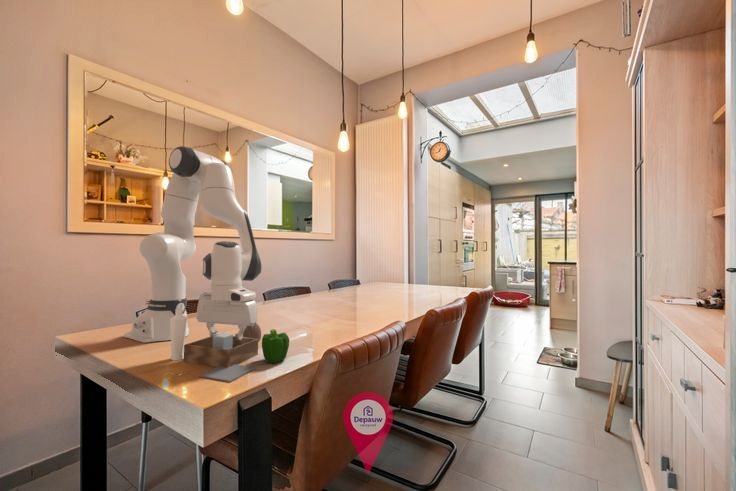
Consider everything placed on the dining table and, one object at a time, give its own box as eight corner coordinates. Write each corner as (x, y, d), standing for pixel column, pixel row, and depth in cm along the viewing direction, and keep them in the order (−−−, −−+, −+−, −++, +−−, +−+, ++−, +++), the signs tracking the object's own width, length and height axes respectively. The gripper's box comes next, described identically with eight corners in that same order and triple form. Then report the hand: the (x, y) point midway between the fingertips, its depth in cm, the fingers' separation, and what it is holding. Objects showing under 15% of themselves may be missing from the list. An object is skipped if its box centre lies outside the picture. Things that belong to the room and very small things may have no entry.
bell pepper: (276, 354, 105) (277, 323, 105) (294, 359, 101) (295, 327, 101) (254, 361, 98) (255, 328, 98) (272, 367, 94) (273, 332, 94)
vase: (264, 342, 118) (264, 318, 118) (255, 348, 111) (256, 322, 111) (246, 341, 119) (246, 317, 119) (236, 347, 112) (237, 321, 112)
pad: (199, 376, 86) (199, 375, 86) (226, 364, 95) (226, 363, 95) (230, 382, 83) (230, 380, 83) (255, 368, 92) (255, 367, 92)
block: (212, 359, 99) (212, 336, 99) (221, 355, 103) (222, 333, 103) (222, 361, 98) (223, 337, 98) (232, 357, 102) (232, 334, 102)
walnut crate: (183, 361, 96) (184, 344, 96) (217, 348, 109) (217, 333, 109) (227, 369, 92) (228, 351, 92) (257, 354, 104) (258, 338, 105)
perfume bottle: (189, 357, 100) (191, 309, 100) (174, 361, 96) (176, 311, 96) (181, 354, 102) (183, 307, 103) (166, 358, 99) (168, 309, 99)
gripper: (191, 293, 101) (191, 337, 101) (247, 296, 95) (247, 343, 95) (206, 290, 107) (206, 332, 107) (260, 293, 101) (260, 338, 101)
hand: (226, 338), depth 101 cm, fingers open, 8 cm apart
